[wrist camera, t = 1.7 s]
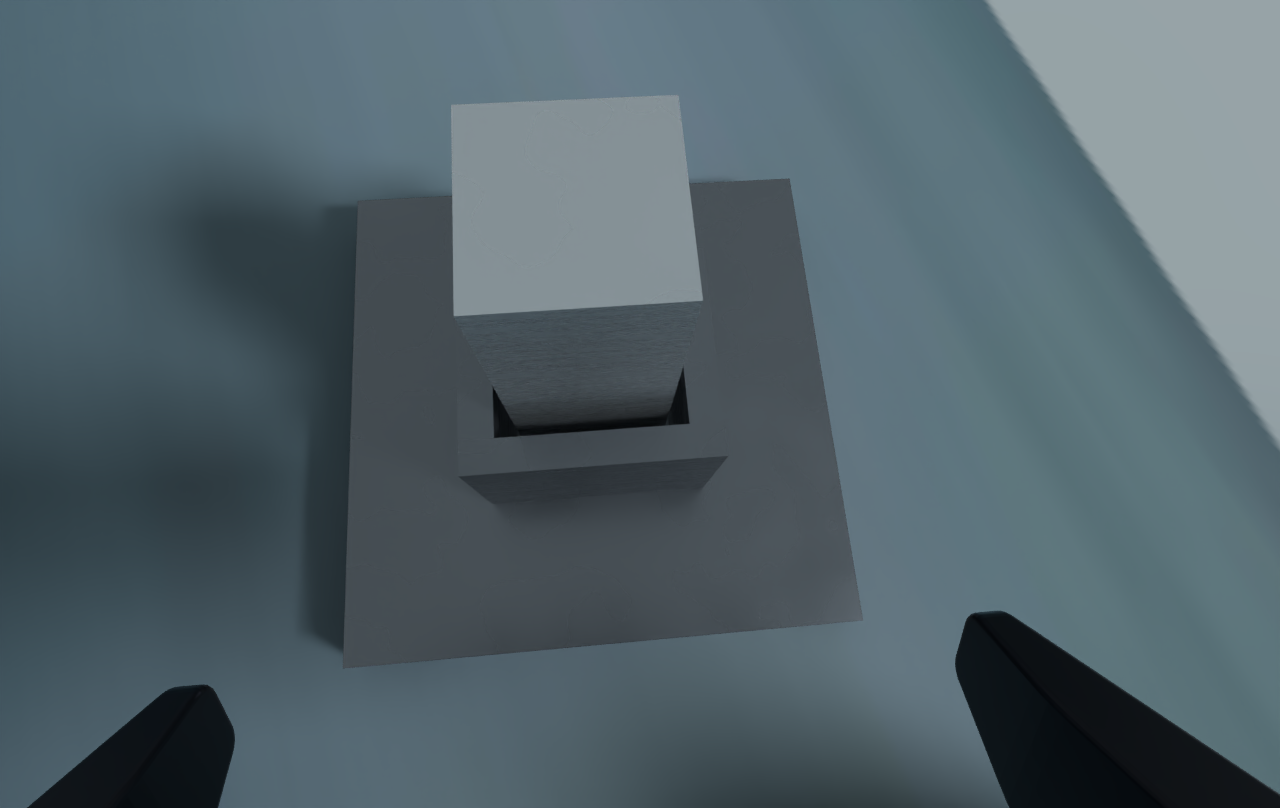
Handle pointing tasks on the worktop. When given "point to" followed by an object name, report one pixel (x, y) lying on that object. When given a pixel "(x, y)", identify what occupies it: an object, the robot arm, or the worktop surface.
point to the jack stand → (589, 464)
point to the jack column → (575, 257)
